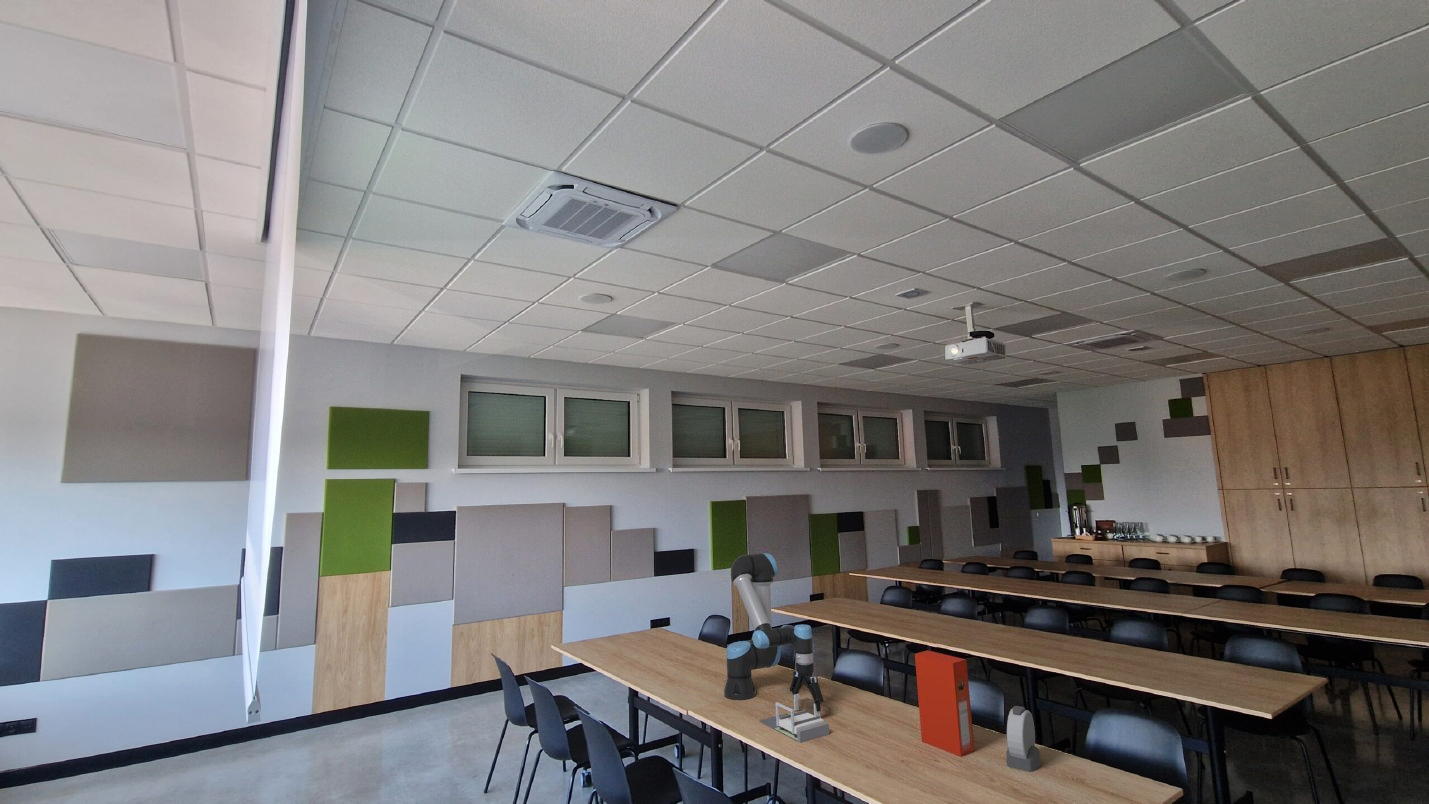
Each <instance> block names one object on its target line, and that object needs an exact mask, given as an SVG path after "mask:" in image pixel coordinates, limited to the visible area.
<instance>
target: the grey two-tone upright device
mask: <svg viewBox="0 0 1429 804" xmlns="http://www.w3.org/2000/svg"><path fill="white" fill-rule="evenodd" d="M1006 722H1007V723H1006V740H1007V749H1006V752H1005V755H1006V766H1007V767H1008V768H1012V769H1016V770H1019V771H1023V772H1028V773H1033V772H1036V771H1037V770H1038V769H1039V768H1040V767H1041V764H1042V763H1041V762H1042V761H1041V755H1040V749H1039V748H1038V747H1037V746H1035V745H1036V741H1035V740H1036V734H1035V733H1036V731H1035V724H1034V718H1033V715H1032V713H1031V712H1030V710H1028V709H1026V706H1025V707H1024V706H1021V705H1013V707H1012V708H1011V709H1010V710H1009V714H1008V716H1007V721H1006Z"/></svg>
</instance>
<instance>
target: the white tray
mask: <svg viewBox="0 0 1429 804" xmlns="http://www.w3.org/2000/svg"><path fill="white" fill-rule="evenodd" d="M779 707H780V708H782V709H784V710H787V711H788V712H790V714H789V715H785V716H781V717H779V715H780V712H779V711H780V710H779ZM775 716H776V725H777V726H780V729H781V730H784V729H787V730H789V731H791V732H792V734H794V736H795V737H797V730H801V729H804V728H808V727H811V726H815V725H819V724H822V723H825V719H822V717H821V718H820V716H821V715H820V716H817V717H816V716H814V715H812V714H810V713H807V710H805V711H800V712H799V711H797V712H795V710H794V708H791V707H789V706H787V705H784V704H782V703H780V702H777V701H776V702H775Z"/></svg>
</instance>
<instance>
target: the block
mask: <svg viewBox="0 0 1429 804" xmlns="http://www.w3.org/2000/svg"><path fill="white" fill-rule="evenodd" d="M814 702H815V701H814V699H813V698H809V697H803V698H800V699H799V700H798V709H799V710H798V712H800V711H805V710H807V713H810V714H812V715H814Z"/></svg>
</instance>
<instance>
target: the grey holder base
mask: <svg viewBox="0 0 1429 804" xmlns="http://www.w3.org/2000/svg"><path fill="white" fill-rule="evenodd" d="M785 715H789V714H788V713H783V714H779V717H781V716H785ZM758 722H759V723H762V724H763V725H765V726H767V727H770V728H771V729H773V730H775V731H777V732H779V733H781V734H782V735H785V737H789V738H790V739H792V740H794V741H796V742H798V743H799V744H800V743H805V742H808V741H811V740H814V739H819V738H822V737H824V736H829V735H830V729H829V727H830V726H829V723H828V722H824V723H822V724H819V725H815V726H811V727H808V728H804V729H801V730H797V737H795V736H794V734H792V732H791V731H789V730H787V729H784V730H781V729H780V726H777V725H776V715H775V716H772V717H768V718H764V719H759V720H758Z"/></svg>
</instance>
